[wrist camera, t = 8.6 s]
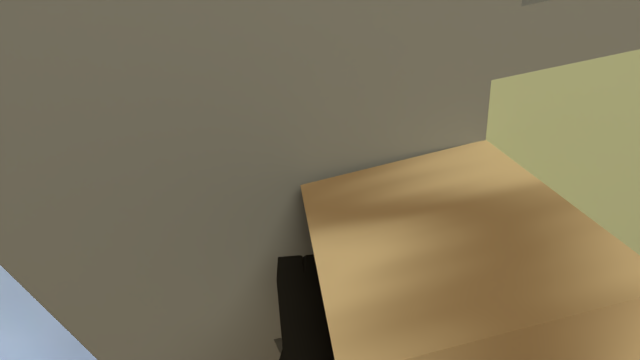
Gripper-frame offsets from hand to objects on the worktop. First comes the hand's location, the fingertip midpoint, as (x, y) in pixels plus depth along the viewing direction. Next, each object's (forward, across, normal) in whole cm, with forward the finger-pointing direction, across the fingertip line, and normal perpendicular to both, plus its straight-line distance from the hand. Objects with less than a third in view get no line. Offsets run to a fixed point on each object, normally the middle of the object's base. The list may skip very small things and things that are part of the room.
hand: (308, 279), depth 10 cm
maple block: (+1, -3, -1) cm, 3 cm away
